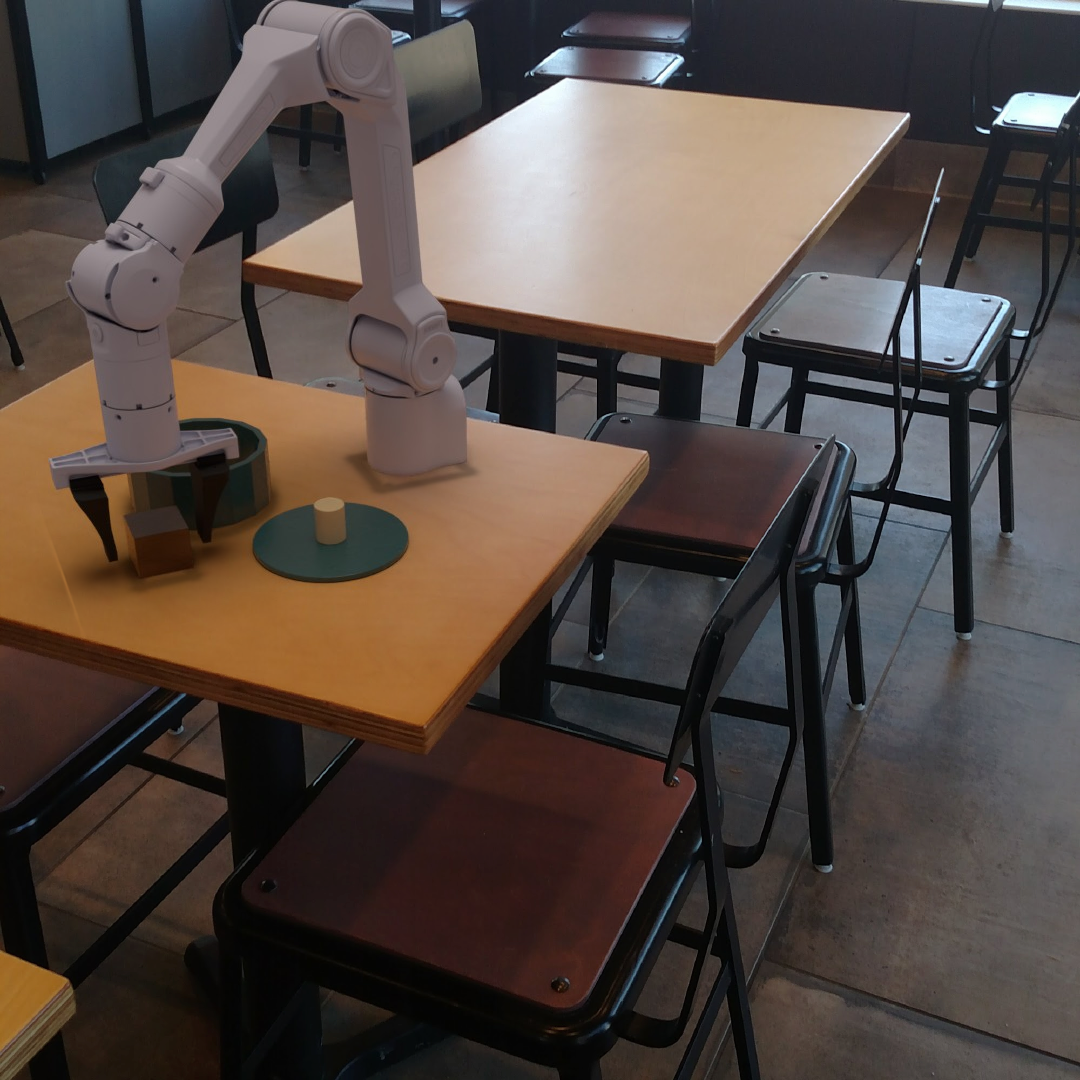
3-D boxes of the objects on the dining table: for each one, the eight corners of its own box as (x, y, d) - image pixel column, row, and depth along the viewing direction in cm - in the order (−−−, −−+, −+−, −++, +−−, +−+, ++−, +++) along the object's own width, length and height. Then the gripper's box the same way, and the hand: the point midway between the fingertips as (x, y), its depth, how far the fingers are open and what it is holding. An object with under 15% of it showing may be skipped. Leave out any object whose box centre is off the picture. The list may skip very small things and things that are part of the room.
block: (182, 549, 108) (176, 504, 106) (194, 573, 105) (188, 527, 103) (130, 560, 107) (123, 514, 104) (141, 584, 103) (133, 538, 101)
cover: (376, 501, 117) (374, 459, 115) (432, 567, 107) (431, 522, 105) (235, 530, 112) (230, 486, 109) (280, 602, 101) (275, 556, 99)
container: (250, 464, 123) (244, 409, 120) (288, 518, 114) (283, 460, 111) (121, 487, 118) (112, 430, 115) (149, 547, 109) (141, 486, 106)
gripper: (216, 365, 104) (231, 509, 111) (33, 392, 98) (60, 542, 105) (239, 395, 99) (253, 545, 105) (46, 426, 93) (74, 582, 99)
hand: (158, 546), depth 105 cm, fingers open, 7 cm apart
